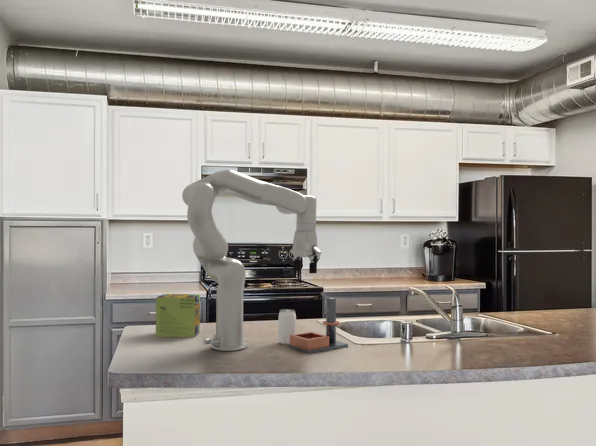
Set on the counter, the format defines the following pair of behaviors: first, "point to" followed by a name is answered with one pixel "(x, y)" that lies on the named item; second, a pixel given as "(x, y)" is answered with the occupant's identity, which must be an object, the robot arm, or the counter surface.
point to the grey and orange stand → (316, 341)
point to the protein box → (177, 315)
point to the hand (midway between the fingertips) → (304, 272)
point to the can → (286, 325)
